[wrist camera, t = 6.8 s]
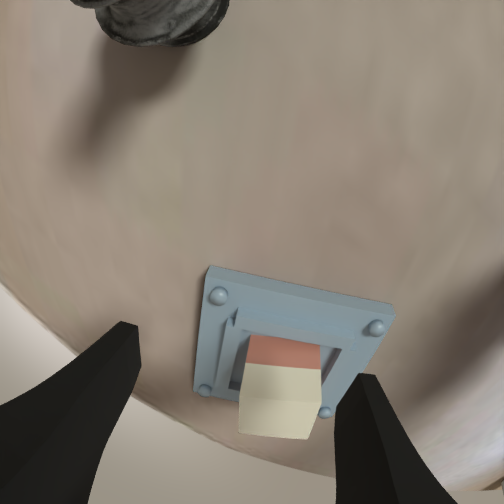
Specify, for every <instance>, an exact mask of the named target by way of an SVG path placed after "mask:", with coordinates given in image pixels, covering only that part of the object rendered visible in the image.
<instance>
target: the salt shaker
mask: <svg viewBox="0 0 504 504" xmlns="http://www.w3.org/2000/svg"><path fill="white" fill-rule="evenodd" d="M70 1H72V2H73V3H74V4H75V5H78V6H80V7H83V8H94V9H95V13H96V19H97V20H98V22H99V24H100V26H101V28H102V30H103V31H104V32H105V33H106V34H107V35H108V36H109V37H111V38H112V39H114V40H116V41H118V42H120V43H122V44H124V45H131V46H138V47H144V46H153V45H162V46H168V47H176V46H184V45H188V44H191V43H195V42H197V41H198V40H200V39H202V38H204V37H206V36H207V35H208V34H210V33H211V32H212V31H213V30H214V29H215V28H216V27H217V26H218V25H219V23H220V22H221V21H222V19H223V18H224V17H225V14H226V11H227V9H228V6H229V0H70Z"/></svg>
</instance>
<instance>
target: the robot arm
mask: <svg viewBox="0 0 504 504" xmlns="http://www.w3.org/2000/svg"><path fill="white" fill-rule="evenodd" d="M140 368H141V356H140V346H139V333H138V326H136V325H133V324H130V323H126V322H123V321H120V322H118V323H117V324H116V325H115V326H114V327H112V328H111V329H110V330H109V331H108V332H107V333H106V334H104V335H103V336H102V337H101V338H100V339H98V340H97V341H96V342H95V343H94V344H93V345H91V346H90V347H89V348H88V349H86V350H85V351H84V352H83V353H81V354H80V355H79V356H78V357H76V358H75V359H74V360H73V361H71V362H70V363H69V364H67V365H66V366H65V367H63V368H62V369H61V370H59V371H58V372H56V373H55V374H54V375H52V376H51V377H49V378H48V379H46V380H45V381H43V382H42V383H40V384H39V385H38V386H36V387H34V388H32V389H31V390H29V391H27V392H25V393H24V394H22V395H20V396H18V397H16V398H14V399H13V400H10V401H9V402H7V403H4V404H2V405H0V504H88V500H89V495H90V492H91V488H92V485H93V481H94V478H95V474H96V471H97V468H98V465H99V462H100V459H101V456H102V453H103V450H104V448H105V445H106V443H107V441H108V438H109V437H110V435H111V433H112V431H113V429H114V427H115V425H116V423H117V421H118V419H119V417H120V415H121V413H122V411H123V409H124V407H125V405H126V403H127V401H128V399H129V397H130V395H131V393H132V390H133V388H134V385H135V382H136V380H137V377H138V374H139V371H140ZM334 442H335V464H336V504H457V502H456V501H455V500H454V499H453V498H452V497H451V496H450V495H449V494H448V492H447V491H446V490H445V489H444V488H443V487H442V486H441V484H440V483H439V482H438V481H437V479H436V478H435V477H434V475H433V474H432V473H431V471H430V470H429V469H428V467H427V466H426V464H425V463H424V461H423V460H422V459H421V457H420V455H419V454H418V452H417V451H416V449H415V447H414V446H413V444H412V443H411V441H410V439H409V438H408V436H407V434H406V432H405V430H404V429H403V427H402V425H401V423H400V421H399V420H398V418H397V416H396V414H395V412H394V410H393V408H392V406H391V404H390V403H389V401H388V399H387V397H386V395H385V393H384V391H383V389H382V387H381V385H380V383H379V382H378V380H377V378H376V376H375V375H372V374H364V373H358V374H357V376H356V377H355V379H354V380H353V382H352V384H351V385H350V387H349V388H348V390H347V391H346V393H345V394H344V396H343V397H342V399H341V400H340V402H339V403H338V404H337V406H336V413H335V427H334Z"/></svg>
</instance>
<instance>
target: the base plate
mask: <svg viewBox="0 0 504 504" xmlns="http://www.w3.org/2000/svg"><path fill="white" fill-rule="evenodd" d="M395 317H396V315H395V312H394V309H393V306H392V304H387V303H382V302H377V301H372V300H367V299H362V298H358V297H353V296H348V295H343V294H338V293H334V292H329V291H324V290H319V289H315V288H310V287H305V286H301V285H296V284H291V283H287V282H282V281H278V280H273V279H269V278H264V277H260V276H255V275H251V274H246V273H242V272H237V271H233V270H229V269H224V268H220V267H216V266H211V265H210V267H209V270H208V272H207V274H206V277H205V285H204V293H203V302H202V310H201V319H200V328H199V337H198V346H197V356H196V365H195V376H194V386H193V392H197V393H198V394H199V395H200V396H202V397H209V396H213V397H217V398H222V399H226V400H231V401H235V402H239V395H240V390H241V385H242V379H243V374H244V369H245V363H246V358H247V353H248V347H249V342H250V336H251V334H252V335H261V336H271V337H280V338H285V339H290V340H295V341H301V342H306V343H311V344H317V345H320V363H321V396H322V403H321V406H320V409H319V411H318V414H317V415H319V417H320V418H322V419H326V418H329V417H332V416H333V414H334V413H335V411H336V406H337V404H338V403H339V402H340V400H341V399H342V397H343V396H344V394H345V393H346V391H347V390H348V388H349V387H350V385H351V384H352V382H353V380H354V379H355V377H356V376H357V374H358V373H362V372H363V370H364V369H365V367H366V366H367V364H368V362H369V361H370V359H371V358H372V356H373V354H374V353H375V351H376V350H377V348H378V346H379V345H380V343H381V341H382V339H383V338H384V336H385V334H386V333H387V331H388V329H389V327H390V326H391V324H392V322H393V320H394V319H395Z"/></svg>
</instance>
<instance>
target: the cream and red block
mask: <svg viewBox="0 0 504 504" xmlns="http://www.w3.org/2000/svg"><path fill="white" fill-rule="evenodd" d="M321 403H322V396H321V363H320V345H317V344H311V343H306V342H301V341H295V340H290V339H285V338H280V337H271V336H261V335H252V334H251V336H250V342H249V347H248V353H247V358H246V363H245V369H244V374H243V379H242V385H241V390H240V395H239V433H243V434H251V435H259V436H269V437H280V438H294V439H308V437H309V435H310V432H311V430H312V427H313V425H314V422H315V419H316V417H317V414H318V411H319V409H320V406H321Z"/></svg>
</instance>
